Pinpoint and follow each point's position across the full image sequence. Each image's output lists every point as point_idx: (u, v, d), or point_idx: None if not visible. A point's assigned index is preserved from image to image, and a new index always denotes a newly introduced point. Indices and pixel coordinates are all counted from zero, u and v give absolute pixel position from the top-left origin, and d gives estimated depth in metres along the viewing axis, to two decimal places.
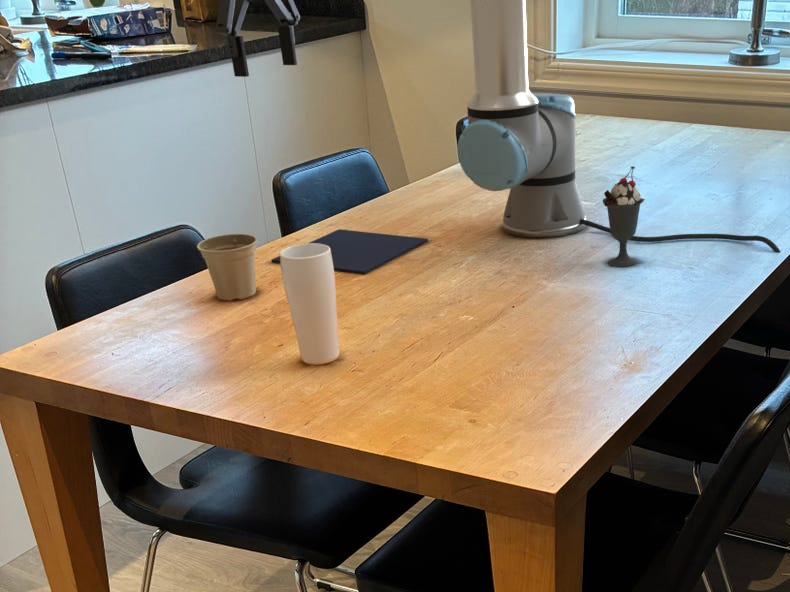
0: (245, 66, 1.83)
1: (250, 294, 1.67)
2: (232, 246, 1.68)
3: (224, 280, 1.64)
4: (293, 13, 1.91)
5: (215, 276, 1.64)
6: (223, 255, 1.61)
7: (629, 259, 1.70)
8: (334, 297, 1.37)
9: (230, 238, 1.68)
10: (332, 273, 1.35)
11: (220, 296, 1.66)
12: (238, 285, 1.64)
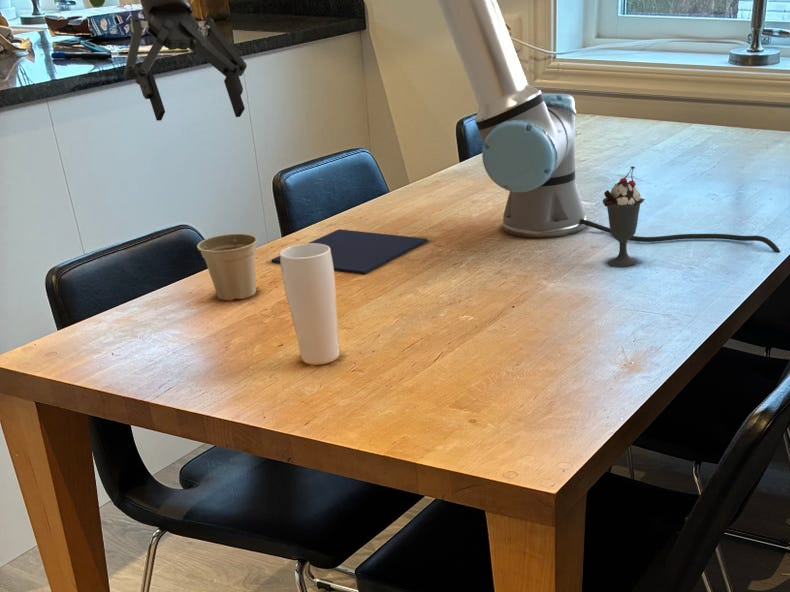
0: (158, 102, 1.65)
1: (250, 294, 1.67)
2: (232, 246, 1.68)
3: (224, 280, 1.64)
4: (236, 61, 1.74)
5: (215, 276, 1.64)
6: (223, 255, 1.61)
7: (629, 259, 1.70)
8: (334, 297, 1.37)
9: (230, 238, 1.68)
10: (332, 273, 1.35)
11: (220, 296, 1.66)
12: (238, 285, 1.64)
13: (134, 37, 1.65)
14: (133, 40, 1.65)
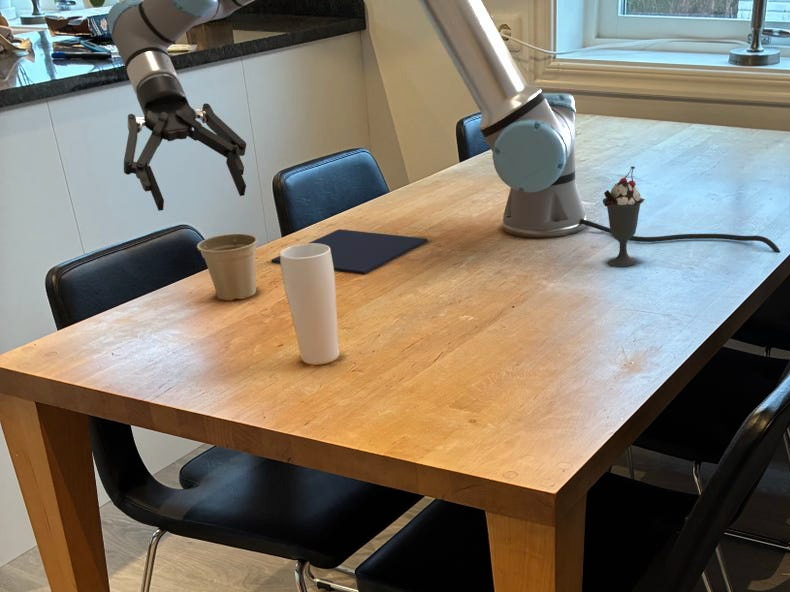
0: (157, 192, 1.64)
1: (250, 294, 1.67)
2: (232, 246, 1.68)
3: (224, 280, 1.64)
4: (235, 141, 1.72)
5: (215, 276, 1.64)
6: (223, 254, 1.61)
7: (629, 259, 1.70)
8: (334, 297, 1.37)
9: (230, 238, 1.68)
10: (332, 273, 1.35)
11: (220, 296, 1.66)
12: (238, 285, 1.64)
13: (130, 134, 1.66)
14: (129, 137, 1.66)
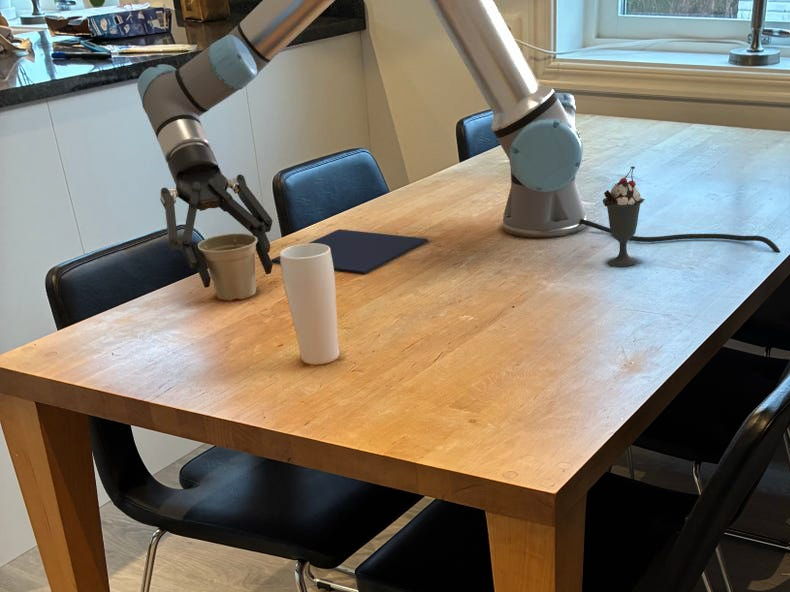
0: (203, 269, 1.61)
1: (250, 294, 1.67)
2: (232, 246, 1.68)
3: (224, 280, 1.64)
4: (262, 217, 1.67)
5: (215, 276, 1.64)
6: (223, 255, 1.61)
7: (629, 259, 1.70)
8: (334, 297, 1.37)
9: (230, 238, 1.68)
10: (332, 273, 1.35)
11: (220, 296, 1.66)
12: (238, 285, 1.64)
13: (168, 209, 1.62)
14: (168, 212, 1.62)
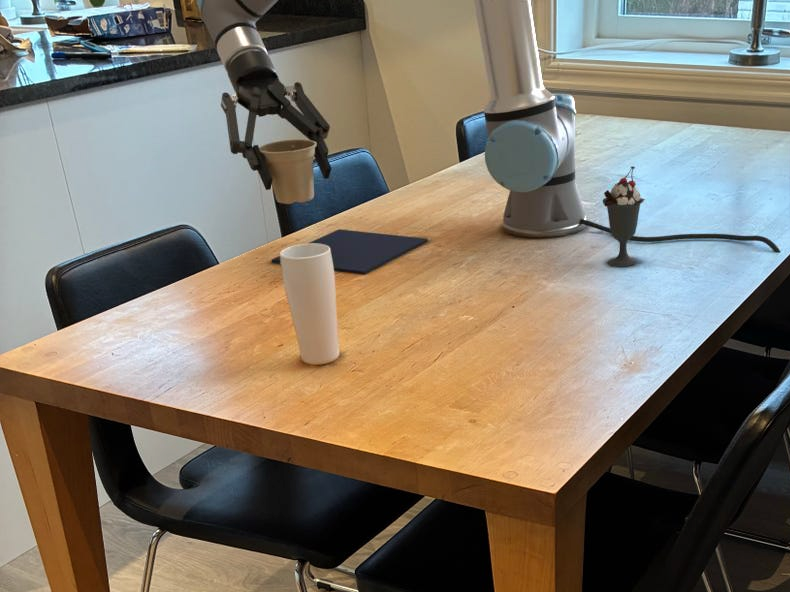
0: (265, 170, 1.64)
1: (309, 198, 1.70)
2: None
3: (285, 183, 1.67)
4: (319, 123, 1.71)
5: (276, 179, 1.67)
6: (285, 156, 1.64)
7: (629, 259, 1.70)
8: (334, 297, 1.37)
9: (288, 144, 1.71)
10: (332, 273, 1.35)
11: (280, 200, 1.70)
12: (297, 188, 1.68)
13: (229, 113, 1.66)
14: (230, 116, 1.66)
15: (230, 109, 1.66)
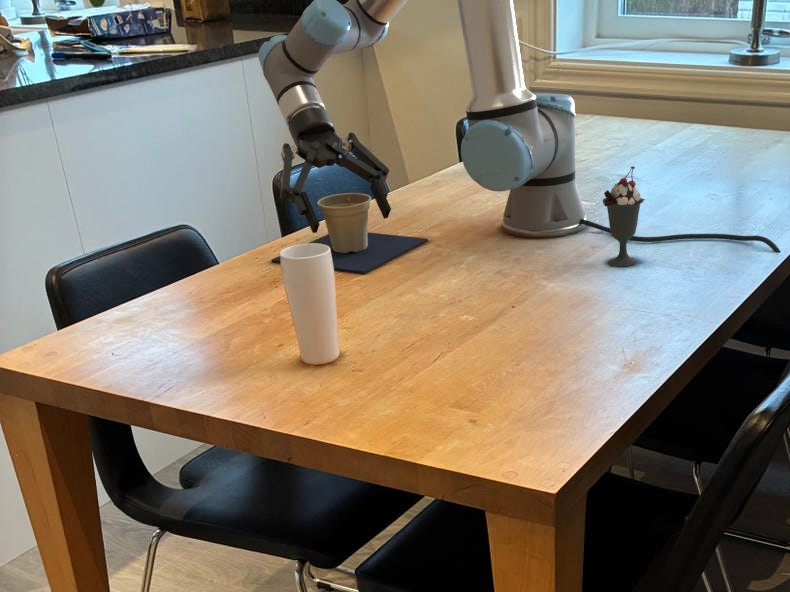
0: (313, 216, 1.77)
1: (363, 248, 1.84)
2: (346, 204, 1.85)
3: (342, 234, 1.81)
4: (379, 168, 1.85)
5: (333, 230, 1.81)
6: (343, 210, 1.78)
7: (629, 259, 1.70)
8: (334, 297, 1.37)
9: (344, 197, 1.85)
10: (332, 273, 1.35)
11: (336, 249, 1.83)
12: (353, 239, 1.81)
13: (286, 162, 1.79)
14: (285, 165, 1.79)
15: (287, 159, 1.79)
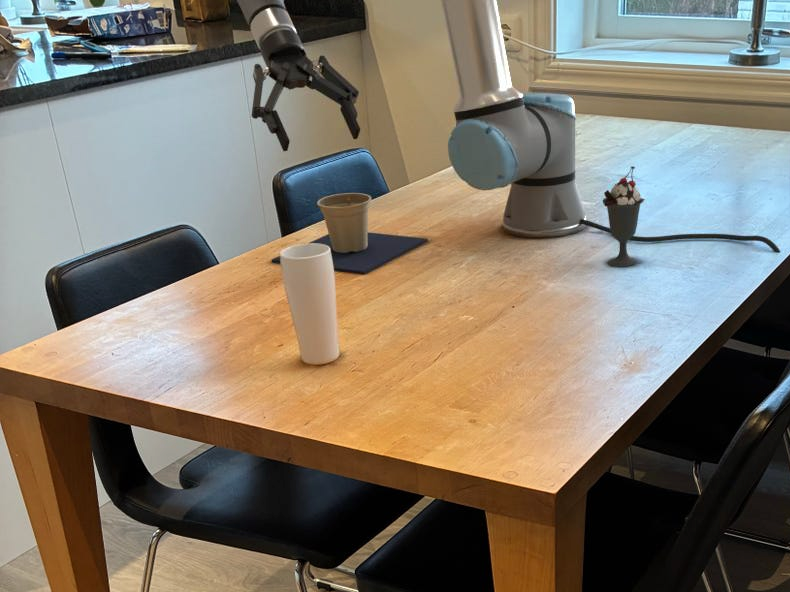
0: (283, 133, 1.81)
1: (363, 248, 1.84)
2: (346, 204, 1.85)
3: (342, 234, 1.81)
4: (349, 90, 1.89)
5: (333, 230, 1.81)
6: (343, 210, 1.78)
7: (629, 259, 1.70)
8: (334, 297, 1.37)
9: (344, 197, 1.85)
10: (332, 273, 1.35)
11: (336, 249, 1.83)
12: (353, 239, 1.81)
13: (257, 82, 1.83)
14: (256, 84, 1.83)
15: (258, 79, 1.83)
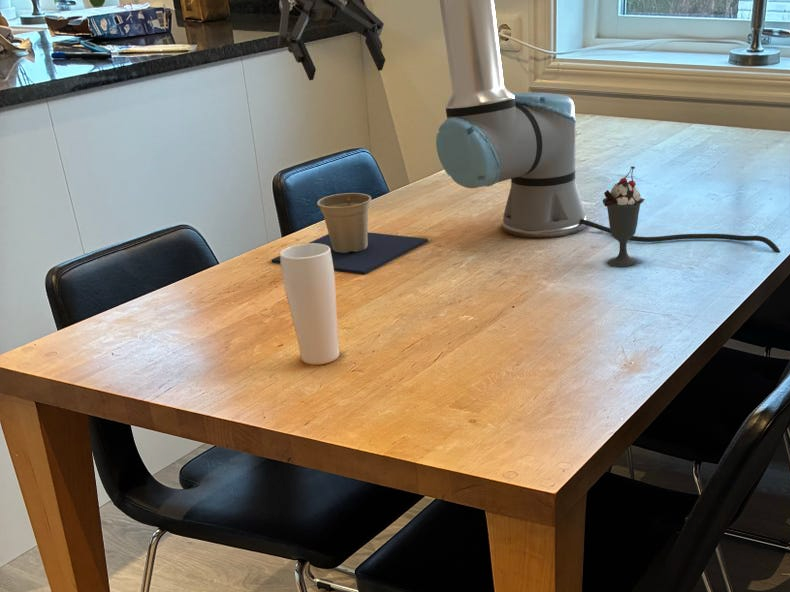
0: (309, 61, 1.83)
1: (363, 248, 1.84)
2: (346, 204, 1.85)
3: (342, 234, 1.81)
4: (374, 21, 1.91)
5: (333, 230, 1.81)
6: (343, 210, 1.78)
7: (629, 259, 1.70)
8: (334, 297, 1.37)
9: (344, 197, 1.85)
10: (332, 273, 1.35)
11: (336, 249, 1.83)
12: (353, 239, 1.81)
13: (283, 11, 1.85)
14: (283, 13, 1.84)
15: (285, 8, 1.85)
